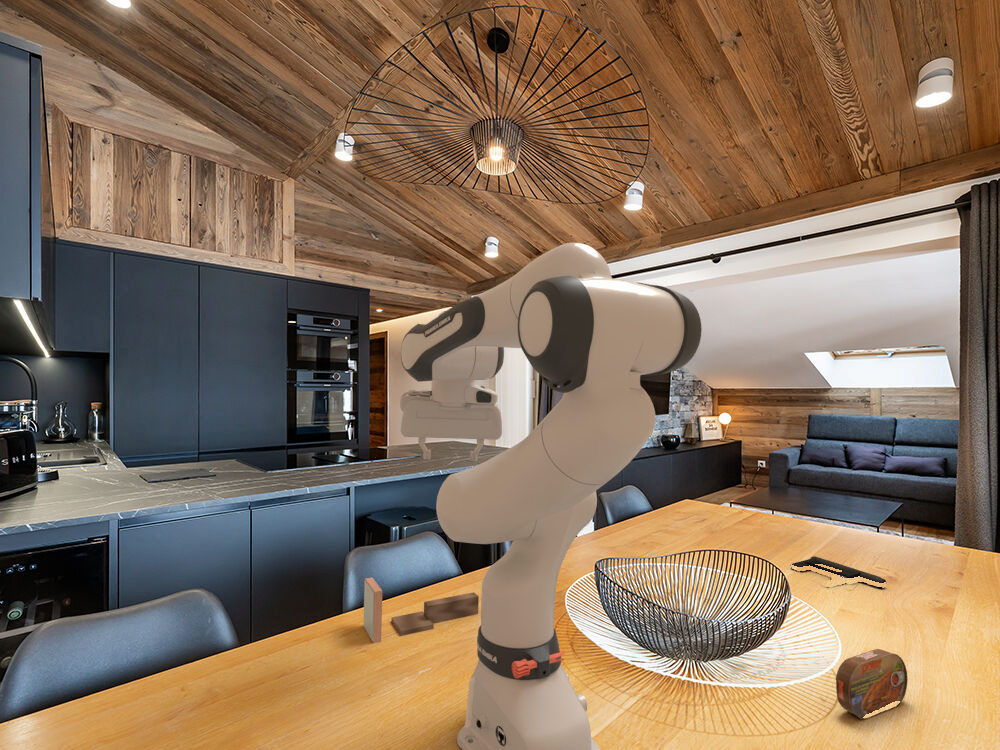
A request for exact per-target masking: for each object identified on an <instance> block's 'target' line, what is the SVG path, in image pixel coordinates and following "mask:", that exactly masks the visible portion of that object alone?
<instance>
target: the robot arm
mask: <svg viewBox="0 0 1000 750" xmlns="http://www.w3.org/2000/svg"><path fill="white" fill-rule="evenodd" d="M701 339H702V320H701V316H700V313H699V310H698V309H697V307H696V306H695V304H694V303H693V301H692V300H690V299H689V298H688V297H687V296H685V295H683V294H682V293H680V292H677V291H676V290H674V289H671V288H669V287H665V286H663V285H657V284H650V283H649V284H648V283H642V282H637V281H636V282H633V281H626V280H624V279H621V278H613V277H612V274H611V271H610V267H609V265H608V263H607V261H606V260H605V258H604V257H603V255H602V254H601V253H600V252H598V251H597V250H596V249H595V248H593V247H592V246H590V245H588V244H586V243H585V244H584V243H581V242H566V243H563V244H561V245H558V246H556V247H554V248H552V249H550V250H548V251H546V252H544V253H543V254H541V255H539V256H538V257H535V258H534V259H533V260H532V261H531V262H529V263H528V264H526V265H525V266H523V268H521V269H520V270H519V271H518V272H517V273H516V274H514V275H513V276H511V277H509V278H508V279H507V280H504V281H503V282H501V283H500V284H497V285H496V286H494V287H492V288H490V289H488V290H485V291H483V292H481V293H479V294H477V295H475V296H472V297H469V298H468V299H467V298H466V299H465V300H462V301H461V302H458V303H457V304H455V305H453V306H452V307H450V308H448V309H447V310H445V311H442V312H440V313H439V314H438V315H437V316H436V317H435V318H433V319H432V320H430V321H429V322H428V323H425V324H421V323H417V324H416V325H414V326H412V328H410V329H409V330H408V331H407V332H406V334H405V335H404V337H403V340H402V343H401V348H400V359H401V364H402V367H403V369H404V370H405V372H406V373H408V375H409V376H411V378H413V379H414V380H415V381H417V382H431V390H416V389H409V390H408V391H407V392H404V393H403V394H402V395H401V397H400V410H401V411H402V418H401V424H400V434H401V435H402V436H403V437H404V438H417V440H418V445H419V446H420V448H421V451H422V452H423V455H422V456H423V457H422V459H423V460H424V461H425V460H431V457H432V454H431V453H432V449H430V448H429V449H428V448H427V446H426V444H425V443H426V441H427V439H428V438H430V439H456V440H457V439H458V440H459V439H462V440H465V439H466V440H476V444H477V446H475V448H474V450H470V451H469V452H470V453H469V454H470V457H469V460H470V462H472V461H473V462H478V457H479V452H480V451H481V450H482V448H483V446H484V445H485V440H489V441H490V440H494V441H497V440H499V439H500V438H501V437H502V435H503V421H502V413H501V409H500V407H499V405H497V402H498V393H497V392H496V391H494V390H493V389H491V388H488V387H485V386H483V385H479V384H477V381H487V380H489V379H490V380H491V379H493V378H494V377H495V376H496V375H498V373H499V372H500V370H501V369H502V367H503V364H504V358H505V348H506V349H507V348H508V349H509V348H511V349H521V350H522V352H523V353H524V354H523V355H524V356H525V357H526V360H528V362H529V364H530V365H531V367H532V368H533V370H535V372H536V373H538V374H539V375H540V376H541V380H542V382H543V383H544V384H545V385H546V386H547V387H548V388H550V389H551V390H554V391H555V392H557V393H560V394H563V395H562V397H561V399H560V400H559V401H558V403H557V404H556V405H554V407H553V408H552V409H551V410H550V411H549V412H548V413H547V415H546V416H545V417H544V418H543V419H542V420H541V421H540V422H539V424H537V425H536V426H535V428H534V429H532V431H531V432H530V433H529V434H528V435H527V436H526V437H525V438H523V440H521V441H520V442H518V443H517V444H515V445H513V446H511V447H509V448H507V449H506V450H504V451H502V452H501V453H498V454H497V455H495V456H493V457H491V458H489V459H488V460H485V461H483V462H482V463H479V464H476V465H475V466H472V467H470V468H467V469H464V470H461V471H458V472H455V473H452V474H450V475H448V476H447V477H446V479H445V480H444V481H443V482H442V483H441V484H442V485H441V486H440V488H439V490H438V493H437V497H436V506H435V508H436V516H437V520H438V523H439V525H440V527H441V529H442V530H443V532H444V533H445V535H446V536H448V538H449V539H450V540H452V542H453V541H454V542H456V543H457V542H458V543H468V544H479V545H490V544H498V543H503V542H505V543H506V542H511V545H510V546H509V549H508V550H507V551H506V553H505V554H504V555H502V557H500V559H498V560H497V561H496V562H495V563H493V564H492V565H491V566H490V567H489V568H488V569H487V570H486V573H485V574H484V577H483V579H482V581H481V602H480V603H481V604H480V607H481V608H480V625H479V627H478V630H477V637H476V646H477V651H476V652H477V653H476V655H477V657H478V661H477V663H476V666H475V669H474V671H473V673H472V675H471V677H470V680H469V682H468V691H467V703H466V714H465V715H466V716H465V724H464V726H462V727H461V728H460V730H459V731H458V733H457V738H456V744H457V745H458V747H459V748H461V750H601V748H600V747H599V745H598V744H597V742H596V741H595V740H594V738H593V737H592V733H591V732H592V731H591V725H590V723H591V722H590V720H589V717H588V715H587V710H588V701H587V699H586V695H584V694H583V693H578V694H577V693H576V691H575V688H574V687H573V685H572V683H571V681H570V676H569V674H568V673H567V672H566V671H565V670H564V667H563V665H562V661H563V660H565V658H564V657H562V656H563V655H565V651H561V650H560V642H559V639H558V635H557V631H556V629H555V610H556V609H555V607H556V593H557V592H556V591H557V585H558V584H557V582H558V578H559V573H560V570H561V568H562V564H563V562H564V560H565V557H566V555H567V553H568V551H569V549H570V547H571V545H572V544H573V542H574V540H575V539H576V537H577V536H578V535H579V534H580V532H581V531H583V529H585V527H587V526H588V525H589V524H590V522H592V520H593V518H594V515H595V514H596V509H597V506H598V505H597V504H598V496H597V490H599V489H600V488H601V487H603V486H604V485H605V484H607V483H608V482H609V481H610V480H612V479H613V478H614V477H616V476H617V475H618V474H619V473H620V472H621V471H622V470H623V469H624V468H626V466H628V465H629V464H630V463H631V462H632V461H633V460H634V458H635V457H636V456H637V455H638V453H640V451H642V449H643V447H644V446H645V445H646V443H647V442H648V441H649V439H650V437H651V435H652V434H653V432H654V429H655V426H656V410H655V407H654V403H653V402H652V399H651V397H650V395H649V394H648V393H647V391H646V390H645V389H644V388H643V387H642V385H641V376H643V375H646V376H659V375H660V376H661V375H664V374H667V373H671V372H675V371H676V370H679V369H681V368H682V367H685V366H686V365H687V364H688V363H689V362H691V360H692V359H693V357H694V356H696V355H695V354H696V353H697V350H698V348H699V346H700V343H701Z"/></svg>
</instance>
